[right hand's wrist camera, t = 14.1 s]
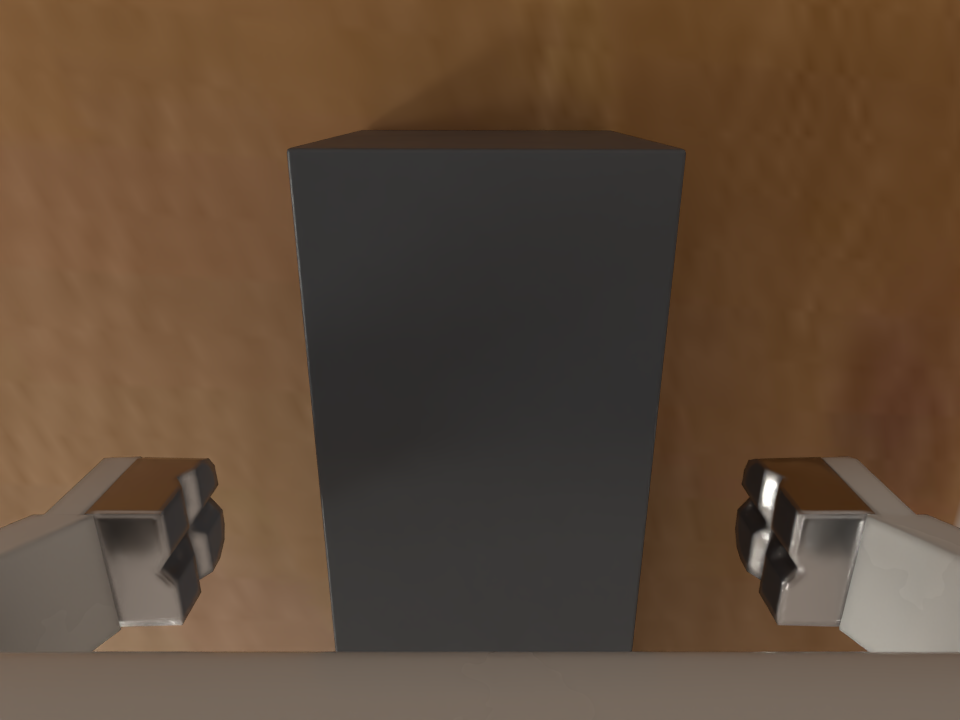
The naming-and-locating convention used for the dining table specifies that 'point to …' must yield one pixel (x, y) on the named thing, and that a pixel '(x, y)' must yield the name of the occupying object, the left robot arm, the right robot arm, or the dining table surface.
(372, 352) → the post
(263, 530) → the dining table surface
